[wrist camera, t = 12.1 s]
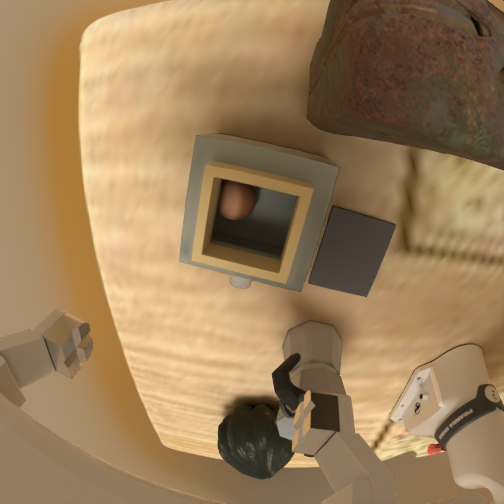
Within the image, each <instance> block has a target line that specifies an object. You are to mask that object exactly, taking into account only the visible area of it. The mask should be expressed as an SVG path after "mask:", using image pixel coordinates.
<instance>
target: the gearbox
mask: <svg viewBox="0 0 504 504" xmlns="http://www.w3.org/2000/svg"><path fill="white" fill-rule="evenodd" d="M338 171H339V167H338V166H337V165H336V164H334V163H333V162H332V161H330V160H329V159H328V158H325V157H321V156H318V155H314V154H310V153H307V152H303V151H299V150H295V149H291V148H287V147H283V146H278V145H274V144H270V143H265V142H260V141H256V140H251V139H246V138H241V137H236V136H230V135H225V134H206V135H196V140H195V146H194V152H193V158H192V164H191V170H190V177H189V183H188V190H187V198H186V205H185V213H184V221H183V229H182V238H181V247H180V257H179V262H182V263H186V264H190V265H194V266H198V267H201V268H205V269H209V270H213V271H217V272H221V273H225V274H229V275H231V276H230V283H231V285H233V286H234V287H237V288H241V289H246V288H249V287H250V286H251V282H252V280H253V281H257V282H261V283H265V284H269V285H273V286H277V287H281V288H286V289H290V290H294V291H298V292H301V290H302V287H303V284H304V282H305V279H306V276H307V273H308V270H309V267H310V264H311V261H312V258H313V254H314V251H315V248H316V245H317V242H318V239H319V236H320V232H321V229H322V226H323V223H324V219H325V216H326V213H327V209H328V206H329V203H330V199H331V196H332V192H333V189H334V185H335V182H336V178H337V174H338ZM226 179H227V180H232V181H236V182H241V183H245V184H250V185H252V186H253V187H254V189H255V192H256V196H257V201H256V206H255V208H254V210H253V211H252V213H251V214H250V215H248V216H247V217H245V218H243V219H240V220H230V219H227V218H225V217H223V216H222V215H221V214H220V213H219V212H218V211H217V204H218V199H219V193H220V187H221V182H222V181H224V180H226Z"/></svg>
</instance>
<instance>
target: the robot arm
mask: <svg viewBox="0 0 504 504" xmlns="http://www.w3.org/2000/svg"><path fill="white" fill-rule="evenodd" d="M89 332H90V326H89V324H88V323H86V322H84V321H83V320H80V319H79V318H77V317H75V316H72V315H71V314H69V313H67V312H64V311H63V310H61V309H55V310H54V311H53V312H51V313H50V314H49V315H48V316H47V317H46V318H45V319H44V320H43V321H42V322H41V323H40V324H39V325H38V326H36V327H35V328H34V329H33V330H30V329H29V330H25V331H22V332H19V333H15V334H11V335H7V336H4V337H0V504H229V503H224V502H219V501H215V500H211V499H207V498H203V497H199V496H195V495H191V494H188V493H185V492H181V491H178V490H175V489H172V488H169V487H166V486H163V485H160V484H157V483H154V482H152V481H149V480H147V479H144V478H142V477H139V476H137V475H134V474H132V473H129V472H127V471H125V470H123V469H120V468H118V467H116V466H114V465H112V464H110V463H108V462H105V461H104V460H101V459H100V458H97V457H96V456H93V455H92V454H90V453H88V452H86V451H84V450H83V449H81V448H79V447H77V446H75V445H74V444H72V443H70V442H68V441H67V440H65V439H64V438H62V437H61V436H59V435H57V434H56V433H54V432H53V431H51V430H50V429H48V428H47V427H45V426H44V425H42V424H41V423H39V422H38V421H37V420H35V419H34V418H32V417H31V416H30V415H28V414H27V413H26V412H24V411H23V410H22V409H20V407H21V406H22V405H23V403H24V402H25V401H26V400H25V396H24V394H23V393H22V391H21V388H23V387H25V386H27V385H29V384H31V383H33V382H35V381H37V380H40V379H41V378H44V377H46V376H48V375H50V374H52V373H54V372H56V371H57V372H59V373H61V374H63V375H65V376H67V377H68V378H70V379H73V377H74V376H75V375H76V374H77V372H78V371H79V370H80V368H81V365H80V363H82V362H84V361H87V359H88V358H89V357H90V355H91V352H92V349H93V341H92V338H91V337H90V335H89V334H88V333H89ZM55 370H56V371H55ZM390 418H391V420H393V421H395V422H398V423H403V424H404V425H405V428H406V430H407V431H408V432H409V433H410V434H411V435H414V436H420V437H428V438H435V439H436V440H437V441H438V443H439V444H431V445H429V447H428V448H429V449H428V450H427V451H428V454H430V455H433V454H438V453H440V451H441V450H444V451H447V453H448V457H449V461H450V465H451V469H452V473H453V478H454V481H455V482H456V484H457V485H459V486H460V487H462V488H466V489H475V488H483V487H486V488H488V489H489V490H490V491H491V493H492V495H493V498H494V500H493V501H492V502H490V503H489V502H488V501H487V500H486V499H485V498H484V497H482V496H481V495H480V494H479V493H477V492H474V491H472V492H467V493H464V494H460V495H457V496H453V497H450V498H446V499H442V500H439V501H435V502H430V503H425V504H504V405H503V403H502V400H501V398H500V396H499V394H498V392H497V390H496V389H495V387H494V386H493V385H492V383H491V380H490V378H489V375H488V372H487V369H486V365H485V361H484V357H483V352H482V350H481V348H480V347H478V346H476V345H464V346H460V347H457V348H455V349H453V350H451V351H449V352H447V353H445V354H444V355H442V356H441V357H439V358H438V359H436V360H435V361H433V362H431V363H428V364H425V365H423V366H420V367H418V368H417V369H416V370H415V371H414V373H413V375H412V377H411V379H410V381H409V382H408V384H407V386H406V388H405V390H404V391H403V393H402V395H401V397H400V398H399V400H398V402H397V404H396V405H395V407H394V409H393V410H392V412H391V414H390ZM294 428H295V429H296V433H295V434H294V436H293V440H292V452H296V453H303V454H310V455H315V456H314V457H315V459H316V460H317V462H318V464H319V466H320V468H321V469H322V471H323V473H324V475H325V477H326V478H327V480H328V482H329V484H330V486H331V487H332V489H333V491H334V493H335V494H333V495H332V496H330V497H329V498H327V499H325V500H324V501H322V502H321V504H397V496H396V486H395V478H394V476H393V475H392V474H391V472H390V471H389V470H388V469H387V468H386V466H385V465H384V464H383V463H382V462H381V460H380V459H379V458H378V457H377V455H376V454H375V453H374V452H373V450H372V449H371V448H370V447H369V446H368V444H367V443H366V442H365V441H364V439H363V438H362V437H361V436H360V434H358V433H355V427H354V417H353V409H352V401H351V397H350V396H349V395H341V394H335V393H328V392H321V391H314V390H308V391H307V392H306V394H305V395H304V401H303V402H301V403H300V404H299V406H298V408H297V410H296V413H295V418H294Z"/></svg>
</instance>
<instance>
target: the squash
mask: <svg viewBox="0 0 504 504" xmlns="http://www.w3.org/2000/svg"><path fill="white" fill-rule="evenodd" d="M278 412H279V410H278V409H274V410H271V409H270V408H269V407H268V406H267V405H264V404H259V405H257V406H256V407H255V408H254V409H253V408H252V407H251V406H249V405H241V406H239V407H237V408H236V409H235V410H234V412H233V413H232V414H230V415H228V416H226V417H225V418H224V419H223V421H222V423H221V424H220V425H219V427H218V449H219V453H220V455H221V457H222V458H223V459H224V460H225V461H226V462H227V463H229V464H230V465H232V466H233V467H234V468H235V469H236V470H238V471H239V472H241V473H243V474H245V475H248V476H251V477H253V478H257V479H270V478H271V477H272V476H274V474H276V473H277V472H278V471H279V470H280V469H282V468H283V467H284V466H285V465H286V464H287V463H288V462H289V461H290V460H291V458H292V457H293V455H294V453H295V452H292V440H289V439H287V438H284V437H281V436H280V435H279V431H278V427H277V423H276V419H277V416H278Z"/></svg>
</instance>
